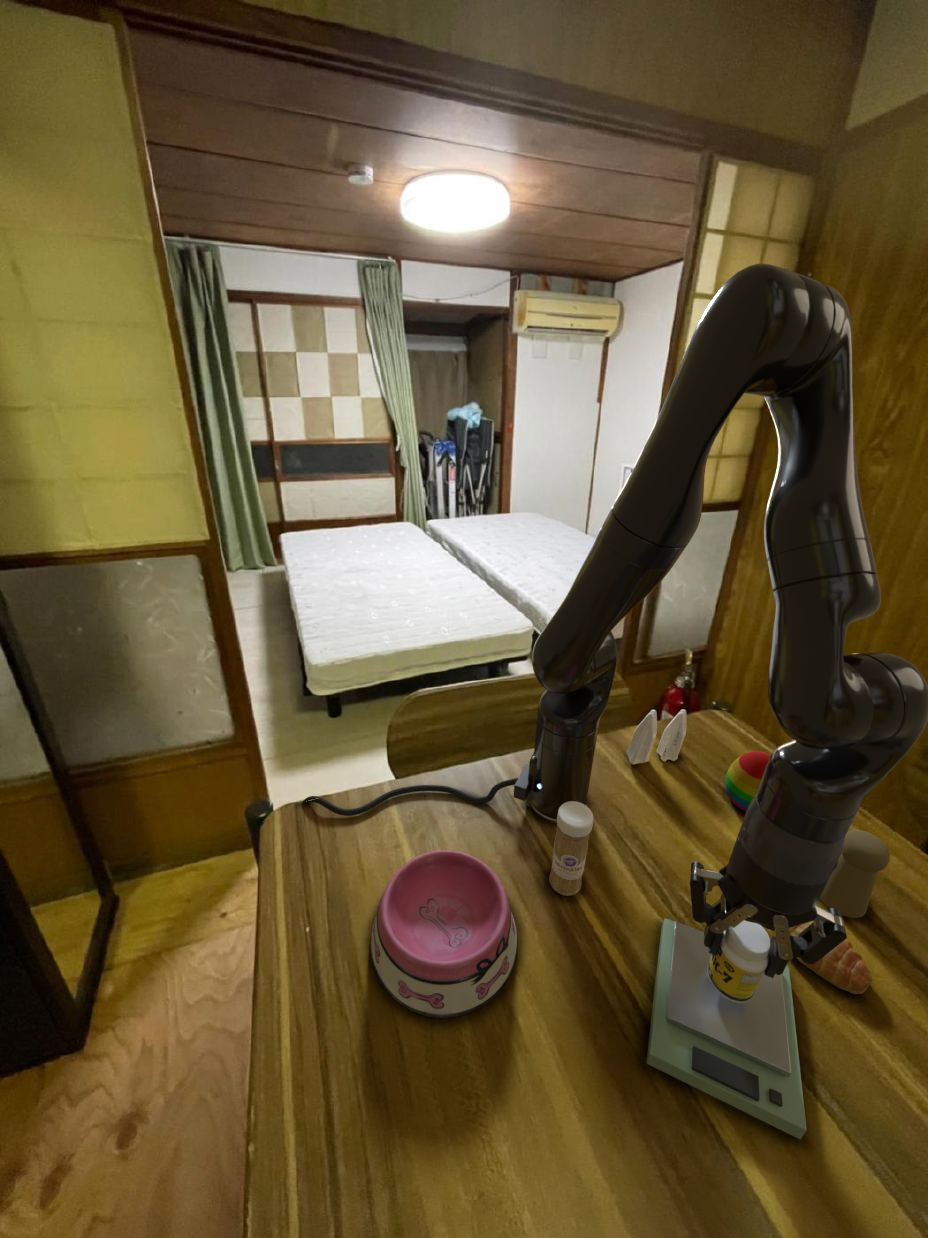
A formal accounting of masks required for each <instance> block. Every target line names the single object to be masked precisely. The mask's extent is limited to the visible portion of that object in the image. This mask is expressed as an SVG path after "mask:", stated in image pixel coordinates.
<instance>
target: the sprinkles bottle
mask: <svg viewBox="0 0 928 1238" xmlns="http://www.w3.org/2000/svg"><path fill="white" fill-rule="evenodd" d="M594 819H595V818H594V814H593V811H592V810H591V808H590V807H588V806H587V805H584V804H582V803H580V802H576V801H569V802H566V803H564V804H562V805H561V806H560V808H559V810H558V815H557V823H556V831H555V835H554V843H553V850H552V858H551V869H550V873H549V877H548V881H549V884H550V886H551V888H552V889H553V890H554V891H555V892H556V893H557V894H560V895H561V896H565V897H572V896H575V895H576V894H578V892H580V890H581V888H582V879H583V874H584V871H585V866H586V859H587V855H588V849H589V848H588V847H589V840H590V834H591V832H592V830H593V826H594Z"/></svg>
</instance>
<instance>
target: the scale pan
mask: <svg viewBox="0 0 928 1238" xmlns="http://www.w3.org/2000/svg"><path fill="white" fill-rule="evenodd" d="M674 922H675V925H674V934H673V945H672V956H671V967H670V978H669V989H668V1000H667V1011H666V1021H668V1022H670V1023H672V1024H674V1025H676V1026H678V1027H681V1028H683V1029H685V1030H687V1031H689V1032H691V1033H694V1034H696V1035H698V1036H700V1037H702V1038H704V1039H707V1040H709V1041H711V1042H713V1043H715V1044H718V1045H720V1046H722V1047H724V1048H726V1049H728V1050H731V1051H733V1052H735V1053H737V1054H739V1055H741V1056H744V1057H746V1058H748V1059H750V1060H752V1061H755V1062H757V1063H759V1064H761V1065H763V1066H765V1067H768V1068H770V1069H772V1070H774V1071H776V1072H778V1073H781V1074H783V1075H785V1076H787V1077H789V1076H790V1074H791V1067H790V1057H789V1046H788V1036H787V1025H786V1015H785V1004H784V994H783V983H782V974H781V975H777V974H775V975H774V978H771V977H768V976H766V975H765V973H764V974H763V976H762V978H761V980H760V982H759V984H758V986H757V988H756V990H755V992H754V995H753V996H752V998H751V999H750V1000H749V1001H747V1002H744V1003H736V1002H732V1001H730V1000H728V999H726V998H724V997H723V996H722V995H720V994H719V993H718V992H717V991H716V989H715V988H714V987H713V985H712V984H711V982H710V980H709V977H708V973H707V967H708V963H709V961H710V958H711V955H712V954H710V953H709V948H708V947H706V946H705V945H704V931H702V930H699V929H697V928H694V927H691V926H689V925H686V924H683V923H682V922H681V923H680V922H679V921H674Z"/></svg>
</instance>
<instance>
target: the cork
mask: <svg viewBox="0 0 928 1238" xmlns="http://www.w3.org/2000/svg"><path fill="white" fill-rule="evenodd" d="M890 857H891V853H890V851H889V848H888V846H887V845H886V844H885V843H884V841H883V840H881V839H880V838H879V837H877V836H876V835H874V834H873V833H870V832H868V831H866V830H861V829H852V830H848V832H847V834H846V836H845V840H844V844H843V849H842V852H841V855H840V857H839V859H838V865H837V867H836V869H835V870H834V871H833V872H832V874H831V876H830V878H829V880H828V882H827V884H826V886H825V888H824V890H823V892H822V894H821V896H820V898H819V901H821V902H822V904H824V905H825V906H826V907H827V908H828V909H830V908H834V909H838V910H839V911H841V913H842V917H846V918H850V919H860V918H862V917H864V916H865V914H867V911H868V907H869V904H870V900H871V896H872V893H873V889H874V886H875V883H876V879H877V875H878V872H881V871H882V870H885V868H886V867H887V866H888V865H889V863H890V860H891V859H890Z"/></svg>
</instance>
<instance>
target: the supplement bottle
mask: <svg viewBox="0 0 928 1238" xmlns="http://www.w3.org/2000/svg"><path fill="white" fill-rule="evenodd" d="M770 946H771V938H770V936H769V934H768V932H767V930H766V928H765V927H763V926H761V925H759V924H757V923H753V922H748V921H745V920H744V921H743V922H741V923H740V924H739V925H737V926H736V927H735V928H733V927H731V926H730V927H729V928H728V929H726V930H725V931H724V936H723V939H722V942H721V944H720V947H719V949H718V952H717V955H716V956H715V955H713V954H712V955H711V958H710V961H709V963H708V967H707V973H708V977H709V980H710V982H711V984H712V985H713V987H714V988H715V989H716V991H717V992H718V993H719V994H720V995H722V996H723V997H724V998H726V999H728V1000H730V1001H732V1002H736V1003H744V1002H747V1001H749V1000H750V999H751V998H752V996H753V995H754V992H755V990H756V988H757V986H758V984H759V982H760V980H761V978H762V976H763V974H764V971H765V969H766V967H767V965H768V960H769V957H768V952H769V949H770Z"/></svg>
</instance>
